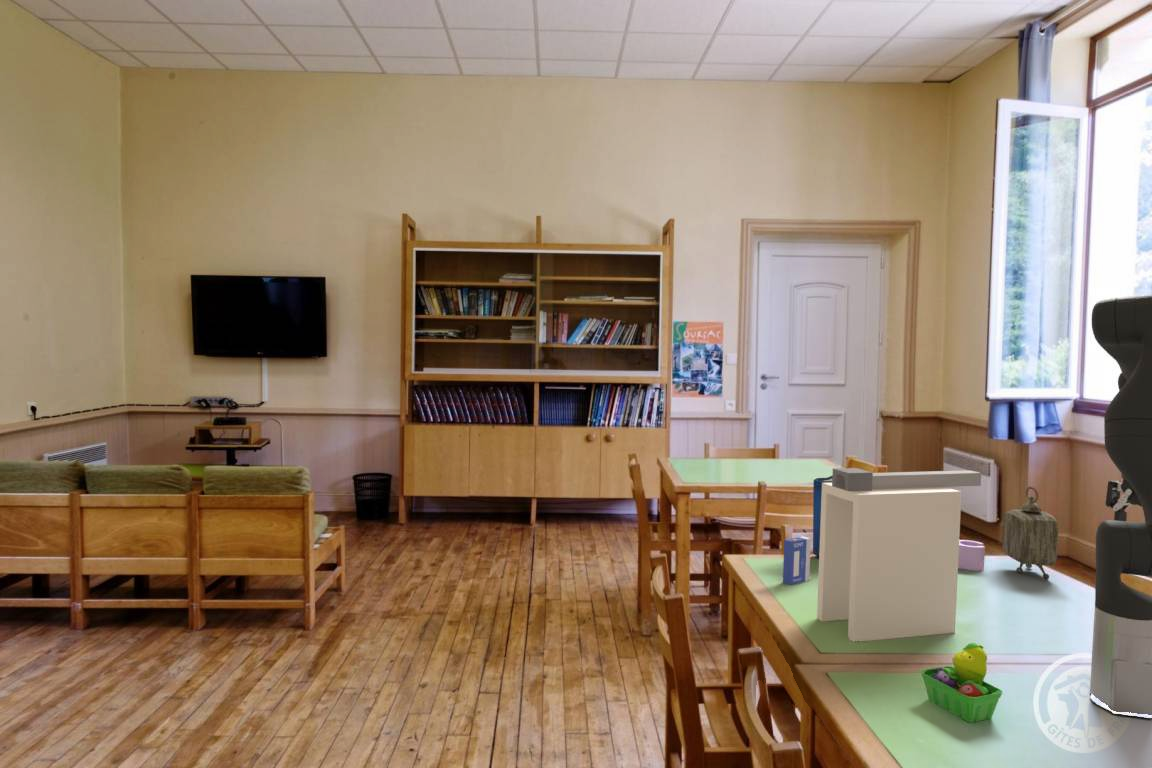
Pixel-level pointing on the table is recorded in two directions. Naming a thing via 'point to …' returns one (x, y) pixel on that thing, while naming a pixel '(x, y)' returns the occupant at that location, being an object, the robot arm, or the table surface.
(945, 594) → the stand
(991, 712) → the fruit basket
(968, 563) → the pink oval container
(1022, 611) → the table surface
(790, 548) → the walkman
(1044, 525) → the tabletop clock
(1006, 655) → the table surface
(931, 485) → the grey square-ended bar
